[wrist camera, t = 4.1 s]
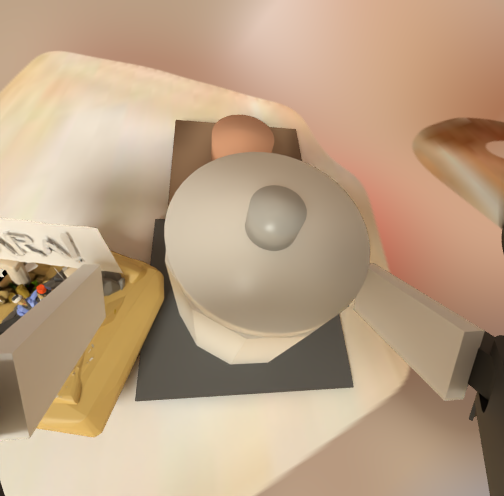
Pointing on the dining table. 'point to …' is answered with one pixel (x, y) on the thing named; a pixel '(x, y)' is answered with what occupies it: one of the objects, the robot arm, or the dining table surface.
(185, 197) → the pot with lid
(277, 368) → the mat
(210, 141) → the board
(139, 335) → the cake
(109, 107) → the dining table surface
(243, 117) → the egg
